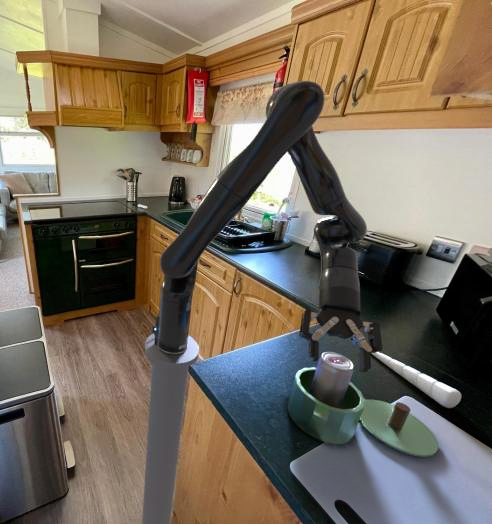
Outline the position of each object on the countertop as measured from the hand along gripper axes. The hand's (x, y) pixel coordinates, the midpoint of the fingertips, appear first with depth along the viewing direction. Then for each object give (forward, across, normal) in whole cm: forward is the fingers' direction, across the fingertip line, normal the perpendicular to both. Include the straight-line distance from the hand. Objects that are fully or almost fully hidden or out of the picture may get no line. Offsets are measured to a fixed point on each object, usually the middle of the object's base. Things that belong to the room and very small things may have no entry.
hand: (338, 366), depth 58 cm
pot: (+10, 0, +12) cm, 15 cm away
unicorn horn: (-7, +25, +29) cm, 39 cm away
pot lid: (+7, +15, +13) cm, 21 cm away
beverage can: (+10, 0, +12) cm, 15 cm away
